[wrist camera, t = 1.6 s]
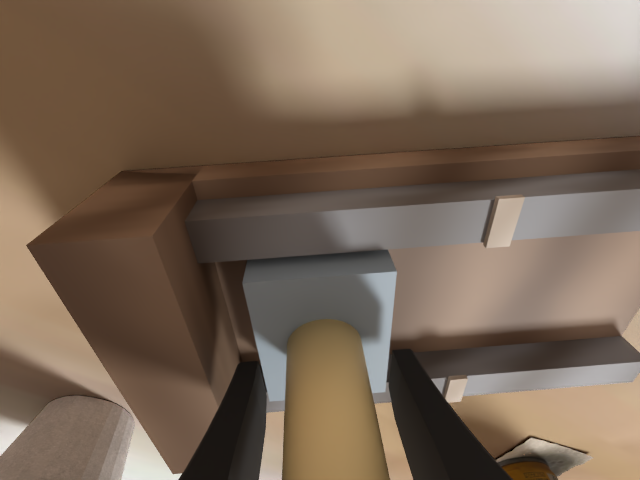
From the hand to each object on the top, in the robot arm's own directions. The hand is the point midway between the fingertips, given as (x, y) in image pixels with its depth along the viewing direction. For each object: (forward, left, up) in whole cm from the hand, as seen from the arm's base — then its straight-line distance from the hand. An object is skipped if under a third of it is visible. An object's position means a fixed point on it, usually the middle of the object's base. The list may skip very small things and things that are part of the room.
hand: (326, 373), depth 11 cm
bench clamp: (-4, 0, -5) cm, 6 cm away
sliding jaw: (0, 0, -3) cm, 3 cm away
